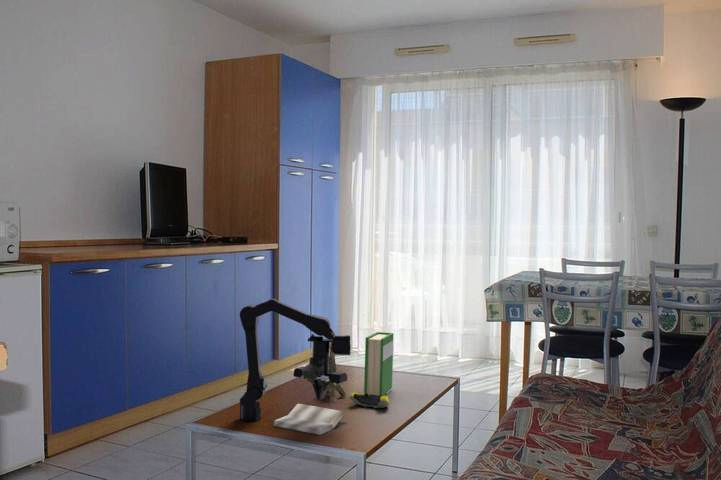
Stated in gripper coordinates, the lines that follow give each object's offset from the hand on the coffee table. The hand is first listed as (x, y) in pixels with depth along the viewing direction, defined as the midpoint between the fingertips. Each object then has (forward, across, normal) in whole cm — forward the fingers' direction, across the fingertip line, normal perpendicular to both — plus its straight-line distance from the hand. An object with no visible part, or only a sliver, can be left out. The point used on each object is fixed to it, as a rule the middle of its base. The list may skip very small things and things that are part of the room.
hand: (319, 399), depth 226 cm
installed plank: (+8, 0, -10) cm, 13 cm away
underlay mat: (+8, 0, -6) cm, 10 cm away
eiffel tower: (+8, -14, +33) cm, 37 cm away
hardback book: (+8, -2, +50) cm, 51 cm away
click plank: (+6, 0, -2) cm, 6 cm away
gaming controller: (+8, +5, +29) cm, 31 cm away
